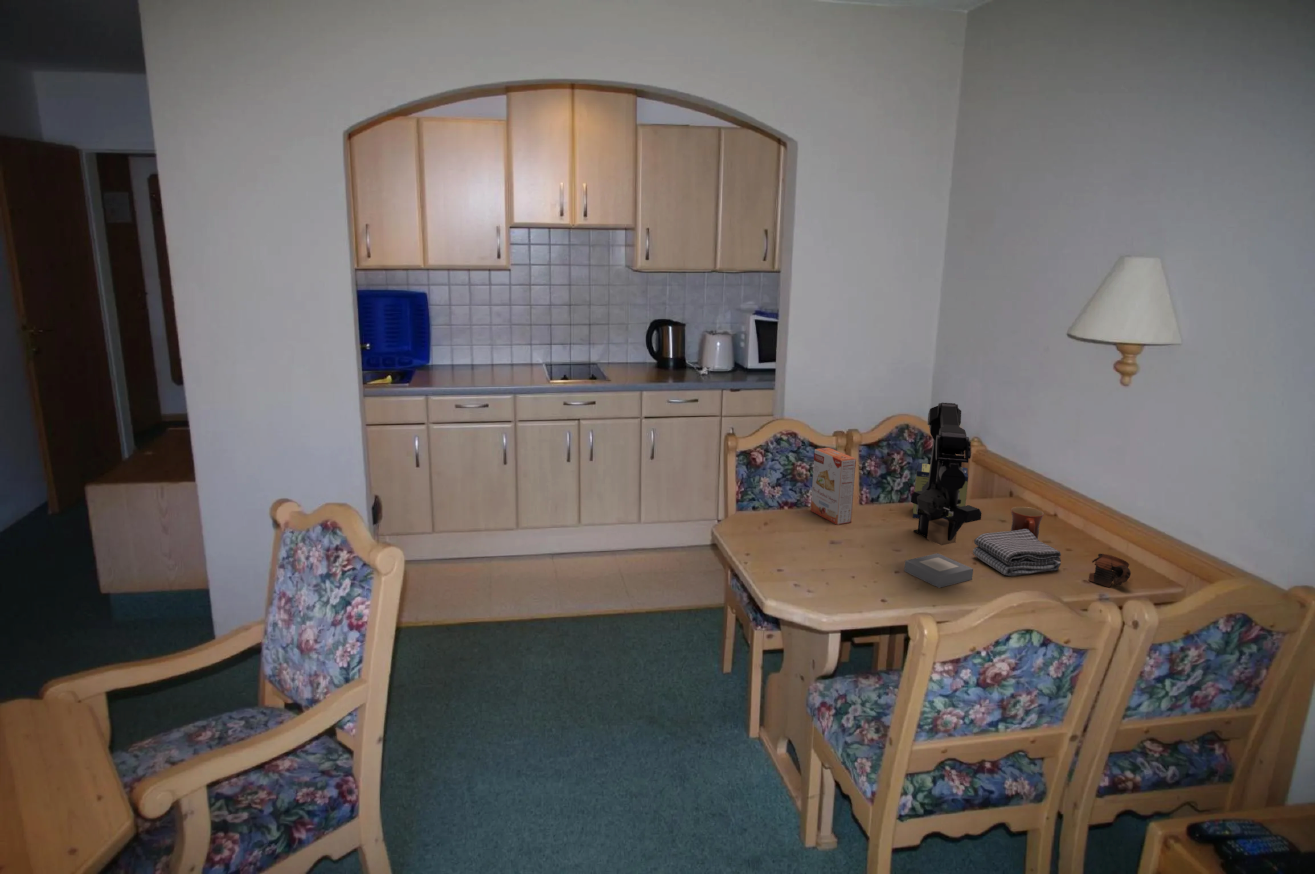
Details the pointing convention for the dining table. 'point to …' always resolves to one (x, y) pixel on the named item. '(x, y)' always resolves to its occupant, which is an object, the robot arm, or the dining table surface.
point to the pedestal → (938, 570)
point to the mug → (1026, 519)
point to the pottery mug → (1110, 570)
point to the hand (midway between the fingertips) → (941, 537)
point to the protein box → (922, 479)
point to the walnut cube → (939, 532)
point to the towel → (1016, 552)
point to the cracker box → (833, 485)
